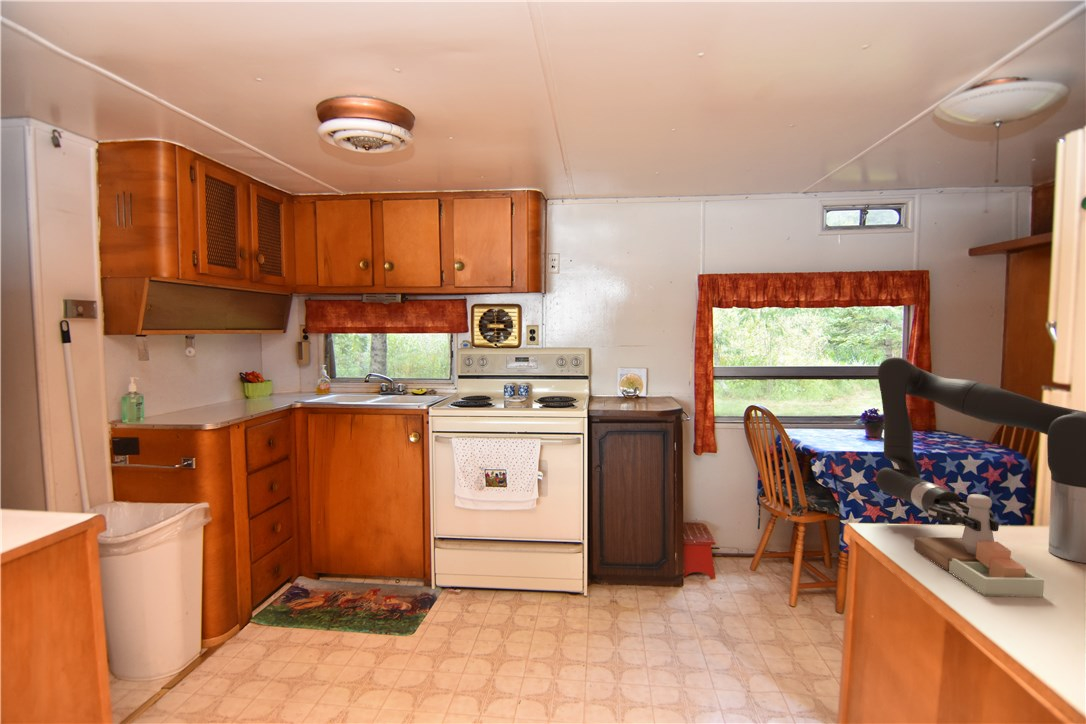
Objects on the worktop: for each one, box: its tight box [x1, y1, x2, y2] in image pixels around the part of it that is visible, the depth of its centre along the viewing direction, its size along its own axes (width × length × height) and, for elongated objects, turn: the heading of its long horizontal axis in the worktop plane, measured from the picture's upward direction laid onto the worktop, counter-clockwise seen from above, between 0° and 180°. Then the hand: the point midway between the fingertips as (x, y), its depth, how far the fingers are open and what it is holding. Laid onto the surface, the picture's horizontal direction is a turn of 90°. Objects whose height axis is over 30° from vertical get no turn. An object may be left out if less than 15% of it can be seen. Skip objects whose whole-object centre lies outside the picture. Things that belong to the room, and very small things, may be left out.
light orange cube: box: [976, 541, 1012, 568], centre depth 116 cm, size 4×4×4 cm
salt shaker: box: [961, 493, 995, 555], centre depth 120 cm, size 6×6×13 cm
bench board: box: [913, 536, 980, 572], centre depth 124 cm, size 12×12×3 cm
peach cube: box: [989, 557, 1027, 578], centre depth 112 cm, size 4×4×4 cm
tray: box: [948, 558, 1045, 598], centre depth 113 cm, size 11×10×4 cm
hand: (987, 526), depth 118 cm, fingers closed on salt shaker, 3 cm apart
